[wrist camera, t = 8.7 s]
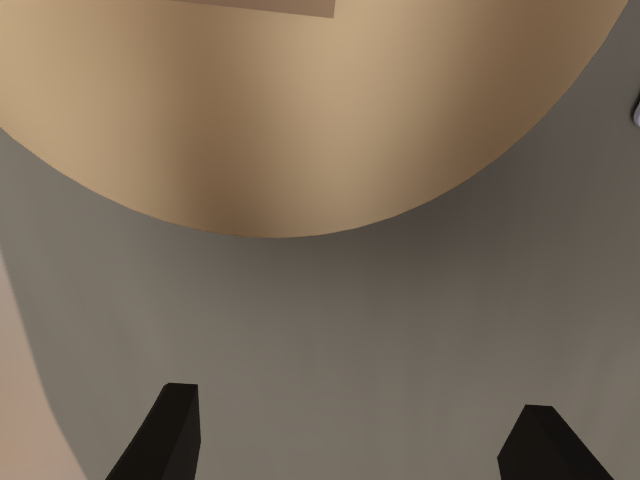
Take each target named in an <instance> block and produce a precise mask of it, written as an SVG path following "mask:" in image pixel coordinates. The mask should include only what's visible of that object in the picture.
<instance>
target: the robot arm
mask: <svg viewBox="0 0 640 480" xmlns="http://www.w3.org/2000/svg"><path fill="white" fill-rule="evenodd" d="M633 118H634V122H635V123H636V125H638V126H639V127H640V103H639V105H638V107H637V109H636V111H635V114H634V117H633ZM200 444H201V435H200V417H199V399H198V385H197V384H181V383H168V384H166V385H164V386H163V388H162V390H161V392H160V394H159V396H158V398H157V400H156V401H155V403H154V405H153V407H152V408H151V410H150V412H149V413H148V415H147V417H146V418H145V420H144V422H143V423H142V425H141V427H140V428H139V430H138V431H137V433H136V435H135V436H134V438H133V439H132V441H131V442H130V444H129V445H128V447H127V448H126V450H125V451H124V453H123V454H122V456H121V457H120V459H119V460H118V462H117V463H116V465H115V466H114V467H113V469H112V470H111V472H110V473H109V475H108V476H107V478H106V479H105V480H194V479H195V473H196V468H197V462H198V456H199V450H200ZM497 459H498V464H499V470H500V475H501V480H614V479H613V478H612V477H611V476H610V475H609V473H608V472H607V471H606V470H605V469H604V467H603V466H602V465H601V464H600V463H599V461H598V460H597V459H596V458H595V457H594V456H593V454H592V453H591V452H590V451H589V450H588V448H587V447H586V446H585V445H584V444H583V442H582V441H581V440H580V439H579V438H578V436H577V435H576V434H575V433H574V432H573V430H572V429H571V428H570V427H569V426H568V424H567V423H566V422H565V421H564V420H563V418H562V417H561V416H560V415H559V414H558V412H557V411H556V410H555V409H554V408H553V407H552V406H541V405H525V407H524V408H523V410H522V412H521V414H520V416H519V418H518V420H517V422H516V423H515V425H514V427H513V429H512V431H511V433H510V435H509V436H508V438H507V440H506V442H505V444H504V446H503V448H502V449H501V451H500V453H499V455H498V457H497Z"/></svg>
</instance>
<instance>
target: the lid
mask: <svg viewBox="0 0 640 480" xmlns="http://www.w3.org/2000/svg"><path fill="white" fill-rule="evenodd" d="M628 1H629V0H0V127H1V128H2V129H3V130H4V131H6V132H7V133H8V134H9V135H10V136H11V137H12V138H14V139H15V140H16V141H18V142H19V143H20V144H22V145H23V146H24V147H26V148H27V149H28V150H30V151H31V152H33V153H34V154H35V155H37V156H38V157H39V158H41V159H42V160H44V161H45V162H46V163H48V164H49V165H50V166H52V167H53V168H55V169H56V170H58V171H60V172H62V173H63V174H65V175H67V176H68V177H70V178H72V179H73V180H75V181H77V182H78V183H80V184H82V185H83V186H85V187H87V188H88V189H90V190H92V191H94V192H96V193H98V194H100V195H102V196H104V197H106V198H109V199H111V200H113V201H115V202H117V203H119V204H121V205H123V206H126V207H128V208H130V209H132V210H135V211H138V212H141V213H144V214H146V215H149V216H152V217H155V218H158V219H160V220H163V221H166V222H169V223H173V224H177V225H181V226H185V227H189V228H193V229H197V230H202V231H206V232H212V233H219V234H227V235H234V236H241V237H262V238H290V237H303V236H315V235H323V234H329V233H334V232H339V231H344V230H349V229H354V228H359V227H362V226H365V225H369V224H372V223H375V222H378V221H381V220H385V219H388V218H391V217H394V216H397V215H399V214H401V213H404V212H406V211H408V210H411V209H413V208H415V207H417V206H420V205H422V204H424V203H427V202H429V201H431V200H433V199H435V198H436V197H438V196H440V195H442V194H443V193H445V192H447V191H449V190H450V189H452V188H454V187H456V186H458V185H459V184H461V183H463V182H465V181H466V180H468V179H469V178H471V177H472V176H473V175H475V174H476V173H478V172H479V171H480V170H482V169H483V168H484V167H486V166H487V165H489V164H490V163H491V162H493V161H494V160H496V159H497V158H498V157H500V156H501V155H502V154H504V153H505V152H506V151H507V150H508V149H509V148H510V147H511V146H513V145H514V144H515V143H516V142H517V141H518V140H519V139H520V138H522V137H523V136H524V135H525V134H526V133H527V132H528V131H529V130H531V129H532V128H533V127H534V126H535V125H536V124H537V123H538V122H539V121H540V120H541V119H542V118H543V117H544V115H545V114H546V113H547V112H548V111H549V110H550V109H551V108H552V107H553V106H554V105H555V103H556V102H557V101H558V100H559V99H560V98H561V97H562V96H563V95H564V94H565V92H566V91H567V90H568V89H569V88H570V87H571V86H572V84H573V83H574V82H575V80H576V79H577V78H578V76H579V75H580V74H581V72H582V71H583V70H584V68H585V67H586V66H587V64H588V63H589V61H590V60H591V59H592V57H593V56H594V55H595V53H596V52H597V51H598V49H599V48H600V47H601V45H602V44H603V42H604V41H605V39H606V37H607V36H608V34H609V32H610V31H611V29H612V27H613V26H614V24H615V23H616V21H617V19H618V18H619V16H620V14H621V13H622V11H623V9H624V8H625V6H626V4H627V3H628Z"/></svg>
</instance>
